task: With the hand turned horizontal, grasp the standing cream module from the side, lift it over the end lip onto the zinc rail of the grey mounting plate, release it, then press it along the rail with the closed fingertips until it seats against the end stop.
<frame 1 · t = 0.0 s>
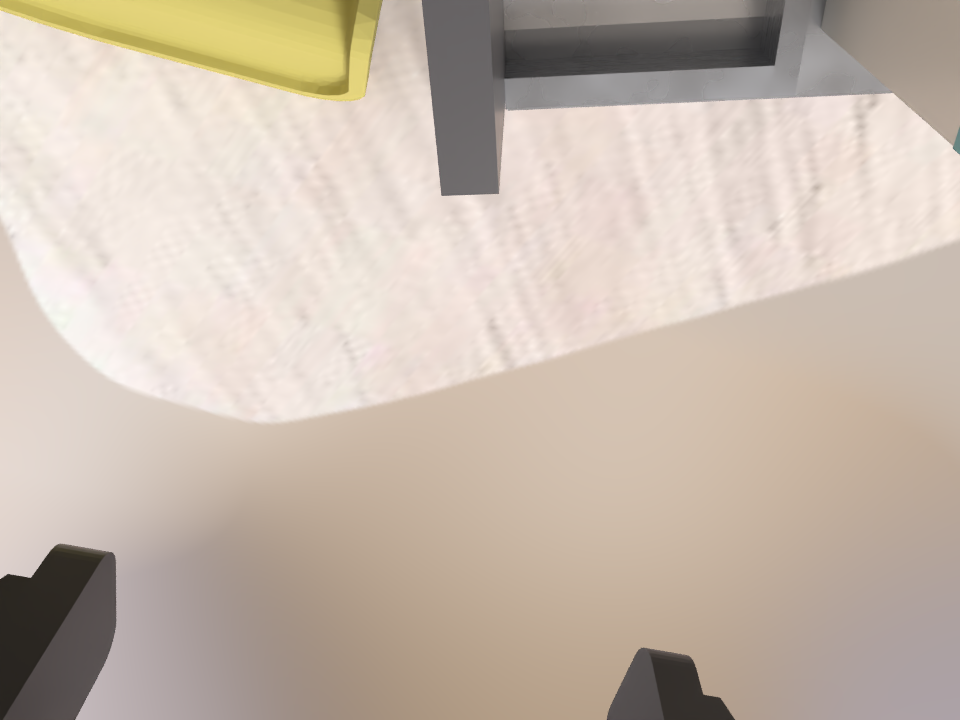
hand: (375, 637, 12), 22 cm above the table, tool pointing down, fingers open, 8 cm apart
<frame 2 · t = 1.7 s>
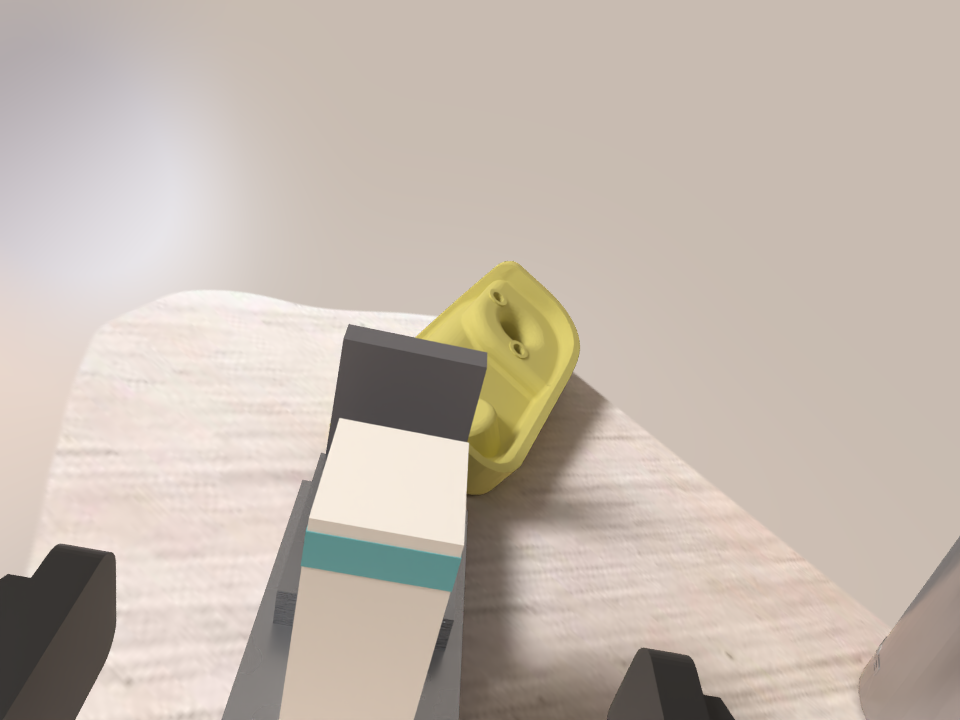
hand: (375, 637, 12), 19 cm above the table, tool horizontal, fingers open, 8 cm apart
end stop: (383, 506, 43), on the table
plastic component: (468, 411, 54), on the table
rail plate: (359, 634, 35), on the table
module: (345, 712, 30), point 1 cm above the table, touching rail plate
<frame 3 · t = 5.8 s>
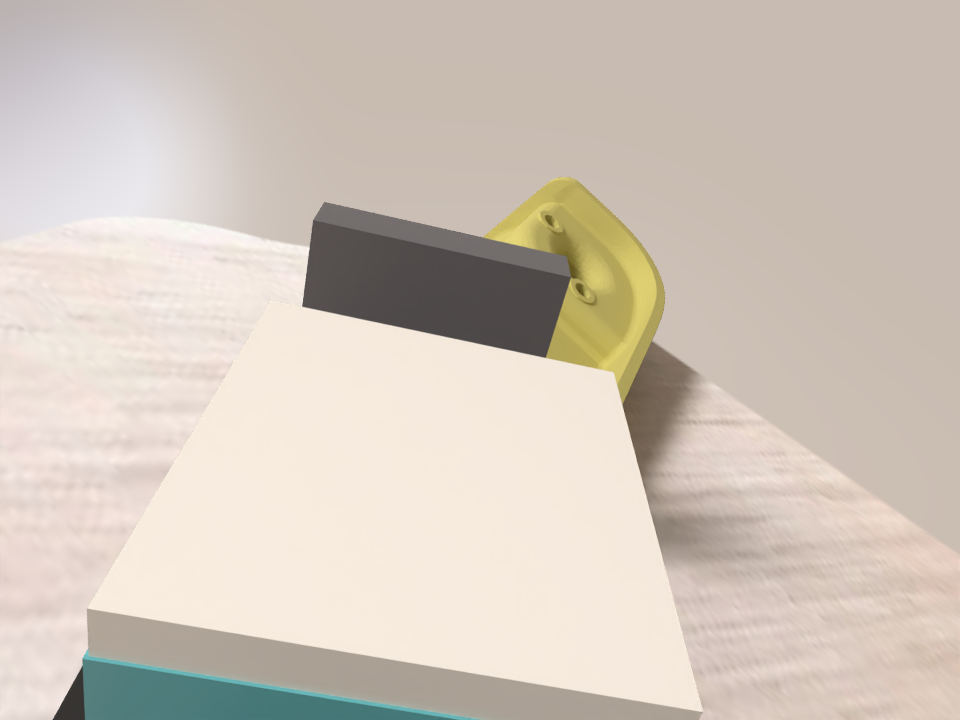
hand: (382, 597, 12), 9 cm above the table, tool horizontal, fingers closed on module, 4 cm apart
end stop: (383, 523, 26), on the table
plastic component: (510, 378, 37), on the table
when the fingers open (10 cm above the table, at t = 9.7 s): module drops 1 cm, resting on rail plate.
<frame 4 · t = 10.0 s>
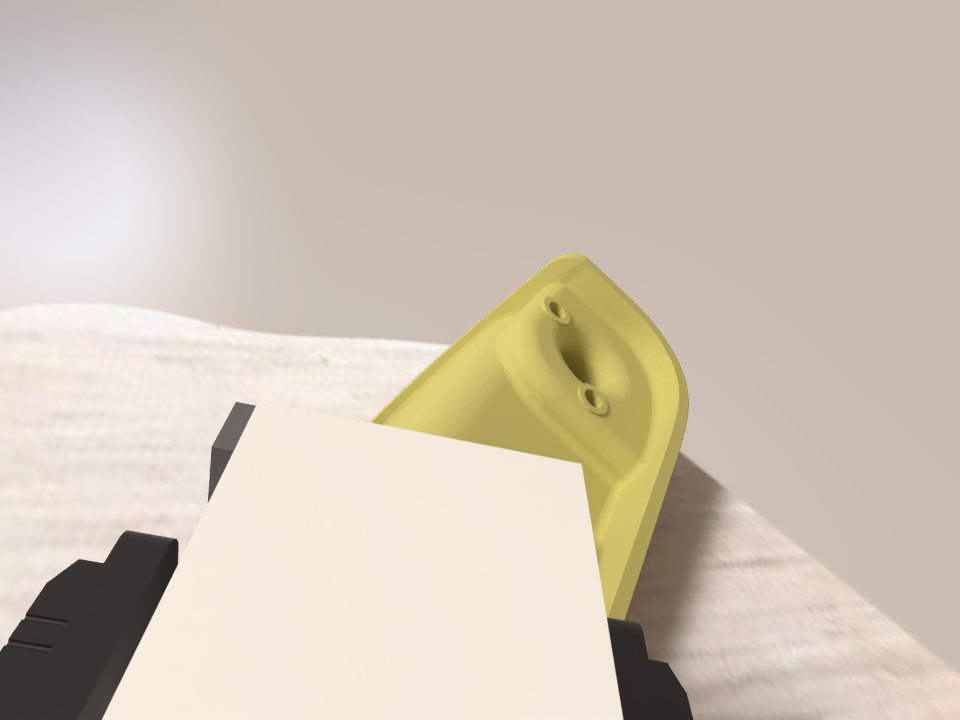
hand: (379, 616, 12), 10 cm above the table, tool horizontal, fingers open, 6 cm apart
plastic component: (507, 502, 32), on the table
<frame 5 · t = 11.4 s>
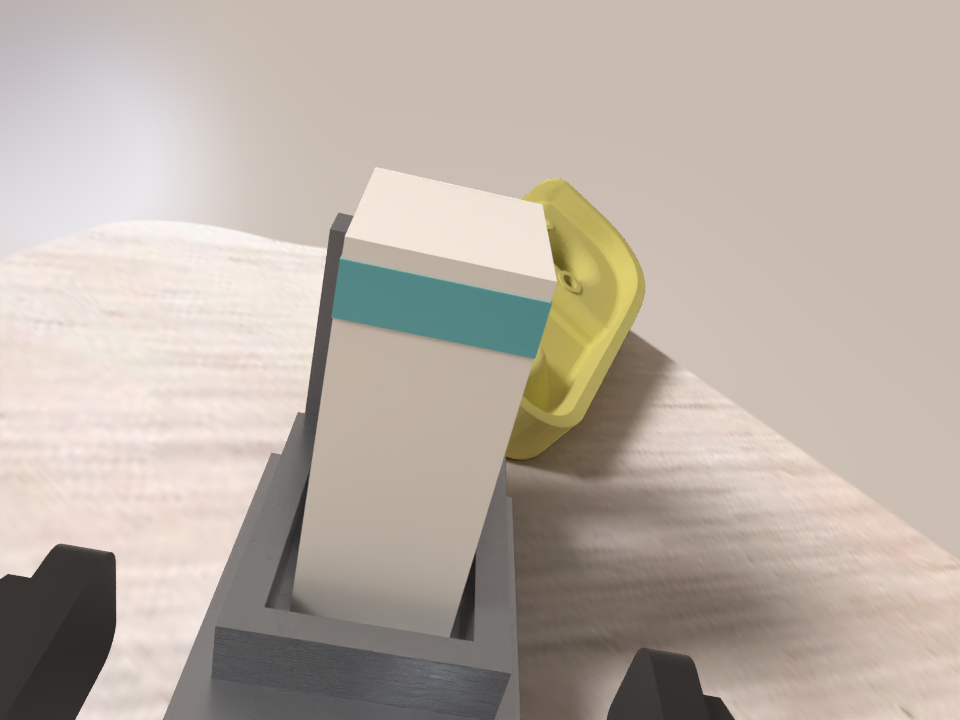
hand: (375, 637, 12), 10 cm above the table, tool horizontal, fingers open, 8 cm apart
end stop: (389, 492, 30), on the table
plastic component: (504, 360, 42), on the table
rail plate: (355, 690, 22), on the table
module: (377, 577, 24), point 2 cm above the table, touching rail plate
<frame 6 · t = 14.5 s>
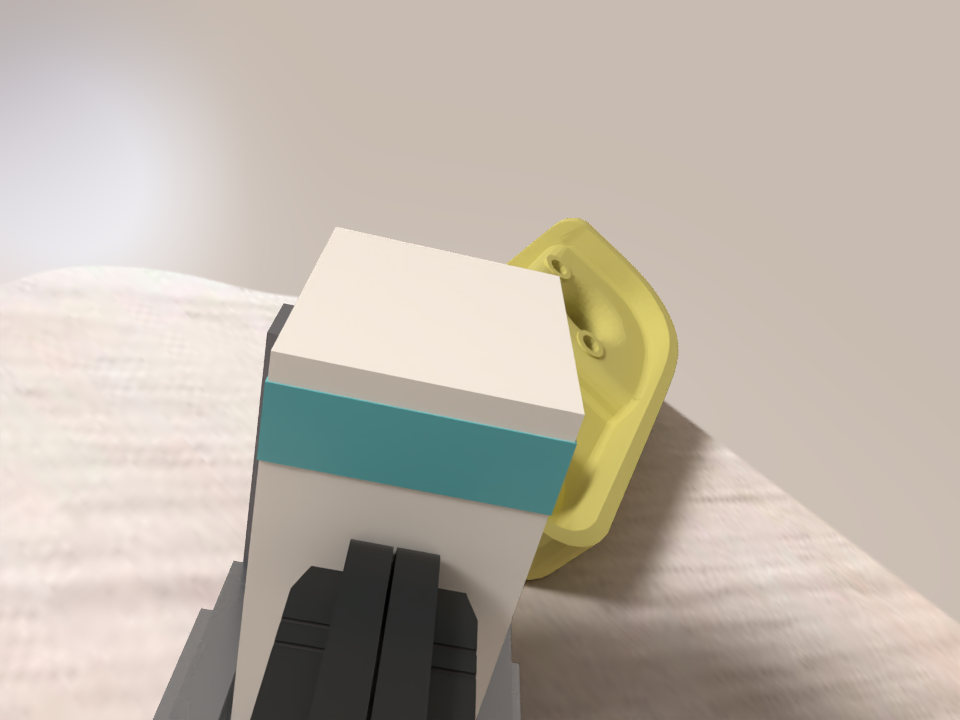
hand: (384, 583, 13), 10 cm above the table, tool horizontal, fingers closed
end stop: (359, 650, 23), on the table
plastic component: (512, 436, 35), on the table
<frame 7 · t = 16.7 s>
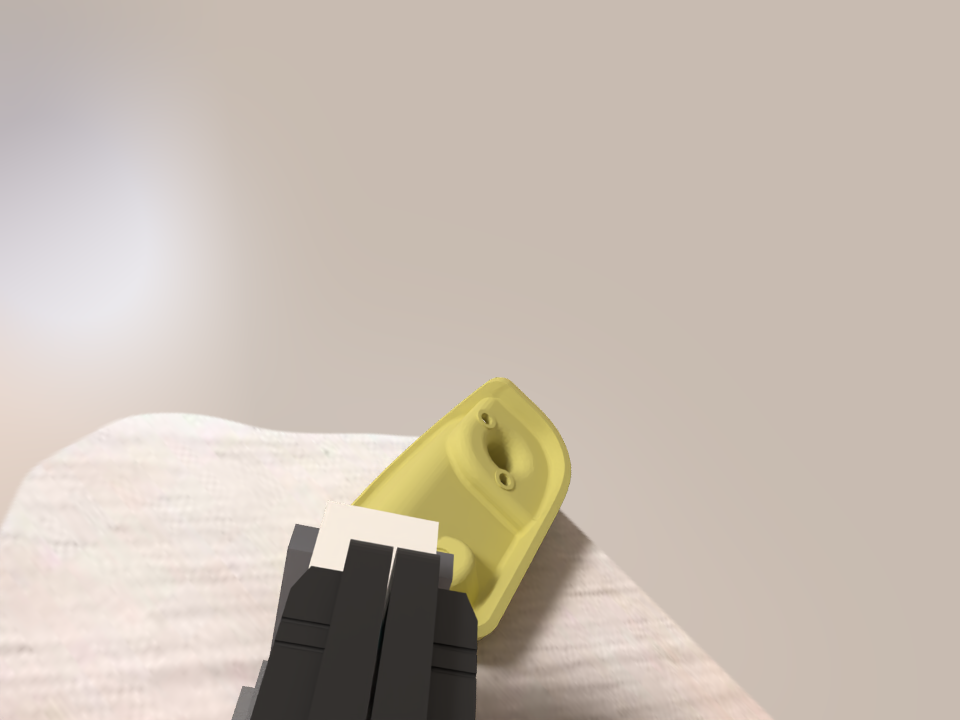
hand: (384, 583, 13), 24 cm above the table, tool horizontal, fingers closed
end stop: (335, 708, 38), on the table
plastic component: (449, 544, 51), on the table
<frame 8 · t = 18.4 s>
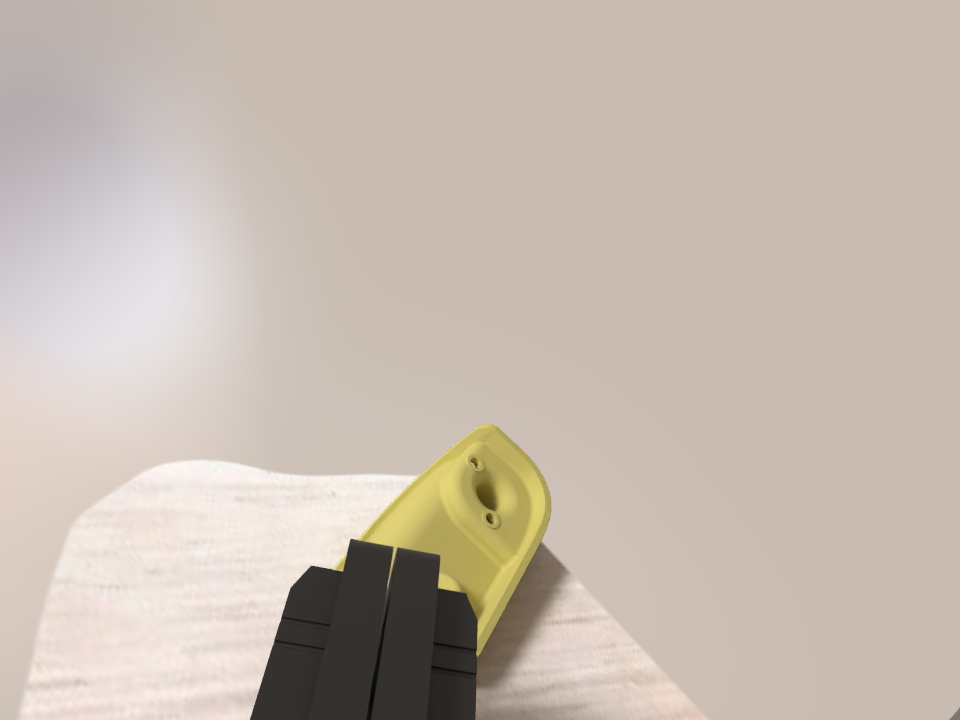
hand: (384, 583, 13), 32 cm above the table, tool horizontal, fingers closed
plastic component: (442, 576, 57), on the table
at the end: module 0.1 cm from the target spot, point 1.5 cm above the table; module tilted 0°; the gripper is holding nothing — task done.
